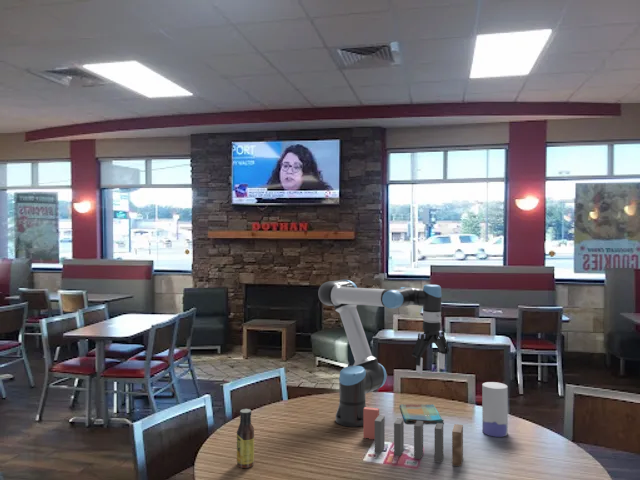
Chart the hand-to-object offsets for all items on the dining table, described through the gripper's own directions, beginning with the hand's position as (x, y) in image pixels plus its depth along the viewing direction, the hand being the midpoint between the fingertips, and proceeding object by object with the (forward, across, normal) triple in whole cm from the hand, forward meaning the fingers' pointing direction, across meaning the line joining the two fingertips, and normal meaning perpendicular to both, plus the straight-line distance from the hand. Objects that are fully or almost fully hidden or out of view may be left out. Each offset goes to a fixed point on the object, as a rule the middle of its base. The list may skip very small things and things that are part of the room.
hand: (430, 370), depth 216 cm
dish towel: (+26, +10, +15) cm, 32 cm away
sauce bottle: (+26, -80, +13) cm, 85 cm away
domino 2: (+25, -27, -10) cm, 38 cm away
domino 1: (+25, -32, -4) cm, 41 cm away
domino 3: (+25, -23, -16) cm, 38 cm away
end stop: (+24, -15, -28) cm, 40 cm away
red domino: (+25, -27, +7) cm, 37 cm away
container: (+25, +20, -19) cm, 37 cm away
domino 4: (+25, -19, -23) cm, 38 cm away
